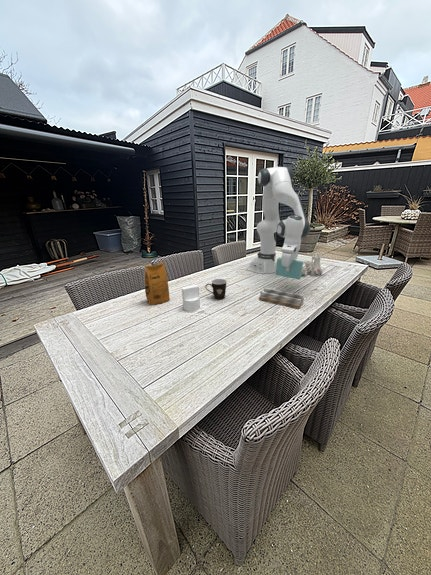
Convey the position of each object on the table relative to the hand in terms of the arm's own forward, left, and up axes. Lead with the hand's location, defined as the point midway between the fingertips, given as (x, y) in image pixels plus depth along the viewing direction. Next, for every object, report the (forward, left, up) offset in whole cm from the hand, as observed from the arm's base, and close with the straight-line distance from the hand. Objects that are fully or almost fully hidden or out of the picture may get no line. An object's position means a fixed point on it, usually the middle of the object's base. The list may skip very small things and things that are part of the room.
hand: (288, 269), depth 131 cm
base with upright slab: (-39, -43, -15) cm, 60 cm away
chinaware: (+5, +44, -15) cm, 47 cm away
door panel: (0, 0, -4) cm, 4 cm away
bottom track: (0, -12, -15) cm, 19 cm away
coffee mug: (-34, -25, -15) cm, 45 cm away
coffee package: (-61, -46, -15) cm, 78 cm away
